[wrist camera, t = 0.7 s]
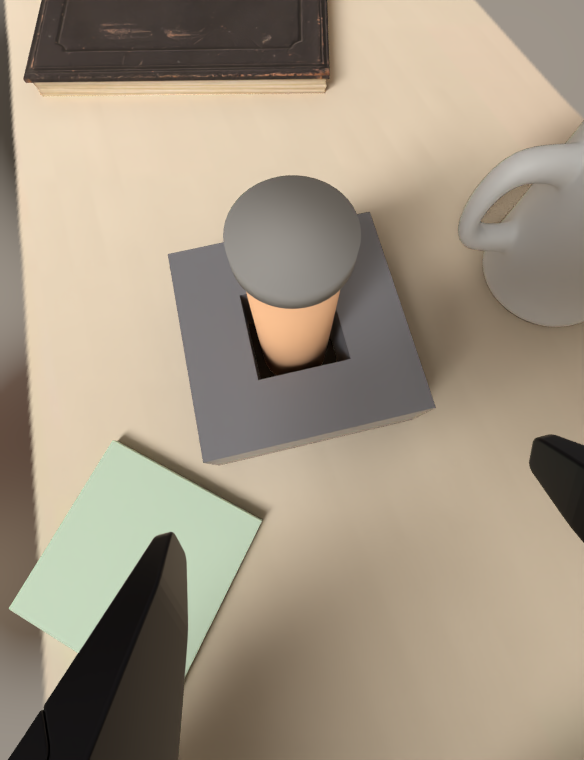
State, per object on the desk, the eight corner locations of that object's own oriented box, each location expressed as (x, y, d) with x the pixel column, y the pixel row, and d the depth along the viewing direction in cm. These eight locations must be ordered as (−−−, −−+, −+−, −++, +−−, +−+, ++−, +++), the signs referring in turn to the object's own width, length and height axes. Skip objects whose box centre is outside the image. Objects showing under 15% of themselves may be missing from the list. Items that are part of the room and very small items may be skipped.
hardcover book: (327, 103, 30) (329, 74, 28) (42, 107, 30) (22, 78, 28) (323, -35, 34) (324, -70, 32) (71, -31, 34) (56, -66, 32)
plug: (341, 335, 24) (382, 205, 13) (310, 397, 23) (324, 318, 12) (278, 306, 25) (263, 157, 13) (245, 365, 24) (197, 260, 12)
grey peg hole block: (412, 419, 23) (435, 407, 19) (219, 465, 22) (203, 462, 18) (358, 251, 26) (369, 211, 22) (187, 288, 25) (167, 254, 21)
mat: (262, 520, 21) (261, 521, 21) (171, 703, 19) (168, 710, 19) (117, 441, 23) (113, 440, 22) (16, 605, 21) (8, 608, 20)
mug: (596, 217, 26) (799, 41, 16) (619, 330, 24) (873, 214, 14) (425, 214, 27) (511, 39, 16) (433, 326, 24) (538, 209, 14)
